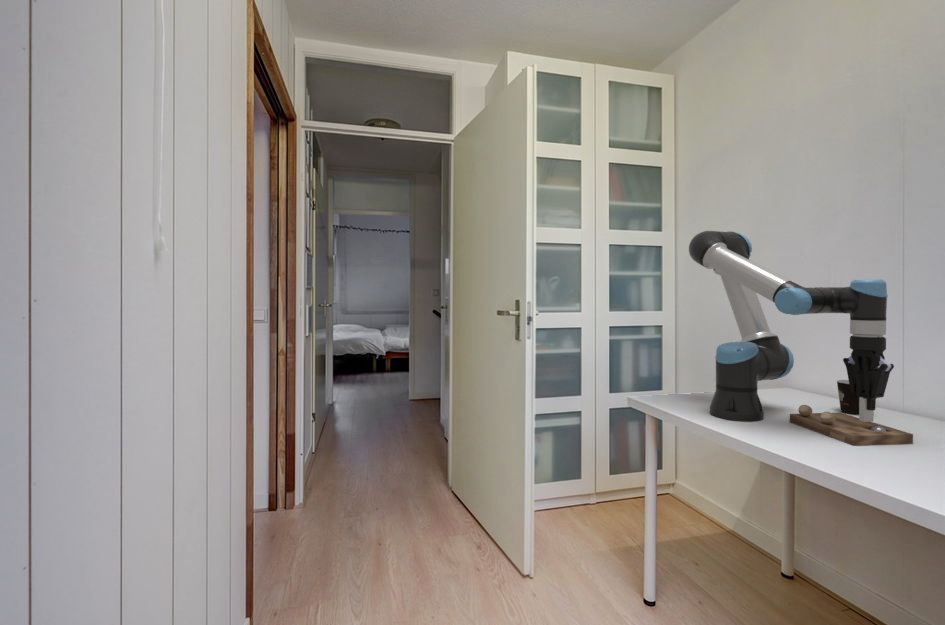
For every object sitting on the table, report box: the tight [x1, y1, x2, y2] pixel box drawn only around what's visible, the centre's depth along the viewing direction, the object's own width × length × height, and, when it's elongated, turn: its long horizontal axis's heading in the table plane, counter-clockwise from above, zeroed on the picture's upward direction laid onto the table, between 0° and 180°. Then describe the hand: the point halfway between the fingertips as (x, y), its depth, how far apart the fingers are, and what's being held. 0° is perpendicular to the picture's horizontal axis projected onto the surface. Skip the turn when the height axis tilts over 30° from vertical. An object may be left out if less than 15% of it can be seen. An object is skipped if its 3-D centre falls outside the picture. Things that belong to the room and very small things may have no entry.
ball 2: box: [820, 411, 835, 424], centre depth 127 cm, size 3×3×3 cm
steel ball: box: [871, 426, 887, 432], centre depth 121 cm, size 3×3×3 cm
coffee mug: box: [836, 379, 859, 416], centre depth 146 cm, size 12×9×10 cm
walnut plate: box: [789, 411, 914, 446], centre depth 128 cm, size 16×22×2 cm
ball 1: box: [797, 404, 813, 416], centre depth 135 cm, size 3×3×3 cm
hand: (866, 420), depth 125 cm, fingers closed
